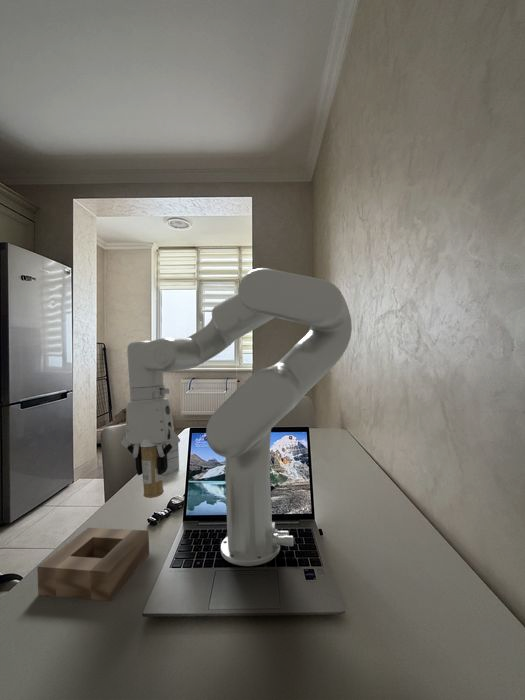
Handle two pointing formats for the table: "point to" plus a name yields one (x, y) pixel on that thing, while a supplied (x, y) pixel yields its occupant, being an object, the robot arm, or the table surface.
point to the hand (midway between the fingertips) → (152, 472)
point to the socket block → (94, 564)
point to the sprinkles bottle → (150, 470)
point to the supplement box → (172, 459)
